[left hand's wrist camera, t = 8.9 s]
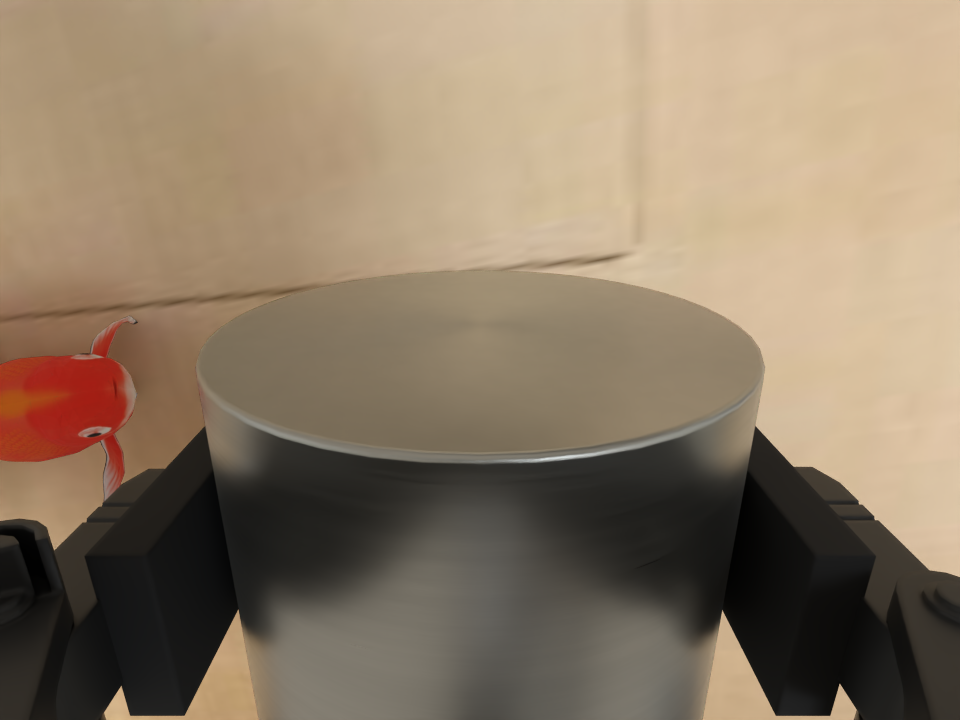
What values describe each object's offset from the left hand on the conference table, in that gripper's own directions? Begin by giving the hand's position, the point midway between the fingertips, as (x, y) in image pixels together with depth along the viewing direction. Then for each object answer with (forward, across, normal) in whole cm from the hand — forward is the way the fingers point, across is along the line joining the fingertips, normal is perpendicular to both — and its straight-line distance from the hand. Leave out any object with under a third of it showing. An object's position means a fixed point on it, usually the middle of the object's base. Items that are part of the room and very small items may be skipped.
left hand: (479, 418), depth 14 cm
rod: (+1, 0, -9) cm, 9 cm away
